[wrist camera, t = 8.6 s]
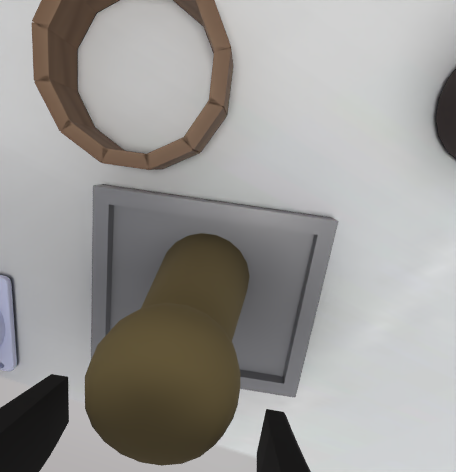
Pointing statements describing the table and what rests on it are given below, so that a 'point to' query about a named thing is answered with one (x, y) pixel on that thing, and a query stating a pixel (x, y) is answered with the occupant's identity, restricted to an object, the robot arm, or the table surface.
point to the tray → (254, 252)
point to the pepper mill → (173, 358)
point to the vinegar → (448, 115)
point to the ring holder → (71, 106)
